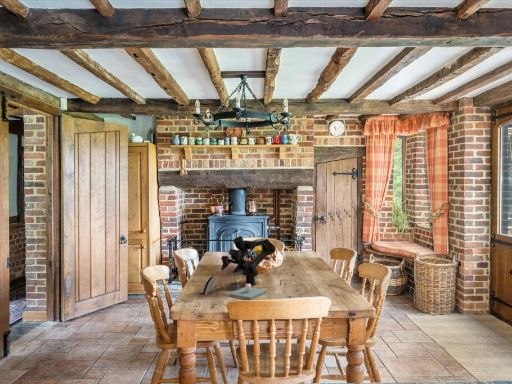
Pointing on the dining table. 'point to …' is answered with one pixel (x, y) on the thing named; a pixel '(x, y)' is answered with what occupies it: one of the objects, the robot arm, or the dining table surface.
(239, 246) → the robot arm
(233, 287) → the ring
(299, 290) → the dining table surface
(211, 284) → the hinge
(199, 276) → the dining table surface
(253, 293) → the piston plate
